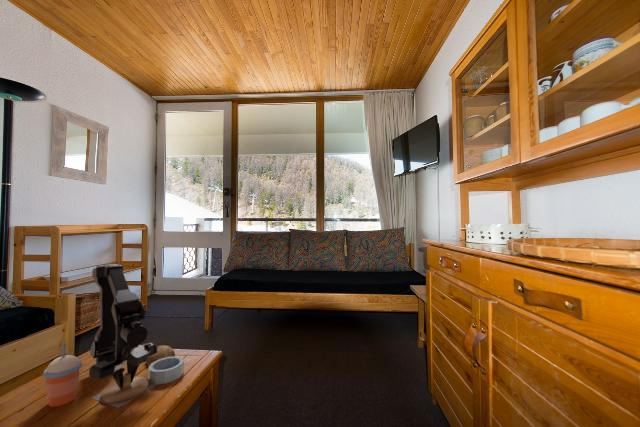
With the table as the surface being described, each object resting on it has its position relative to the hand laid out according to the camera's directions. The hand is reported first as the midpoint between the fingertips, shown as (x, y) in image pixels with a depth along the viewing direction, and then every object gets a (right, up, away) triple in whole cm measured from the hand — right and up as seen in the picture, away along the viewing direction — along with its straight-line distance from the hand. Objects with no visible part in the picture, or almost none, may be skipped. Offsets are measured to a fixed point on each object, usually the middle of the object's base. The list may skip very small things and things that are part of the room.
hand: (125, 385), depth 93 cm
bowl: (+8, -3, +9) cm, 13 cm away
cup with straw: (-17, -2, -5) cm, 17 cm away
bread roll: (0, -3, +20) cm, 21 cm away
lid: (0, -2, 0) cm, 2 cm away
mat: (0, -2, 0) cm, 2 cm away
